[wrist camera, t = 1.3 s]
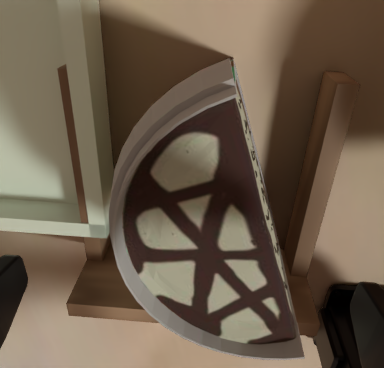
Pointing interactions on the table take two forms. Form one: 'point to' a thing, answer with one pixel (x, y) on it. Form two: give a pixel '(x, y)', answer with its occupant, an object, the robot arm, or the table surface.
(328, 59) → the table surface
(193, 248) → the food container
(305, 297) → the wooden pieces
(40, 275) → the table surface
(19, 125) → the tray
